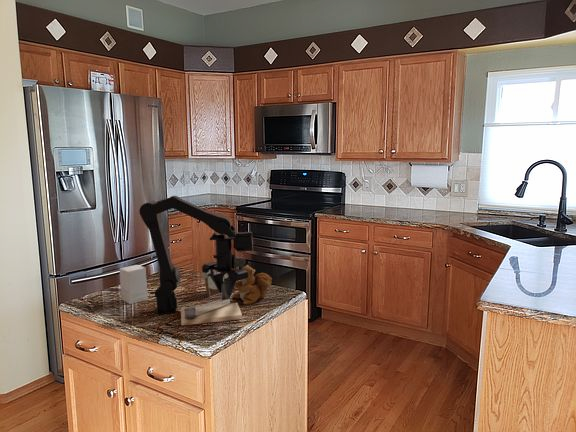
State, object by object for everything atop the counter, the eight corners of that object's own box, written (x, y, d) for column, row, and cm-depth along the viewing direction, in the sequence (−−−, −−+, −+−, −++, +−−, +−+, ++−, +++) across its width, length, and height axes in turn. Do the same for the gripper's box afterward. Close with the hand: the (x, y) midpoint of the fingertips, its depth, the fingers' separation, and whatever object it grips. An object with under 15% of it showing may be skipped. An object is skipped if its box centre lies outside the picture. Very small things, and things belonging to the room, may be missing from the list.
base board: (181, 325, 146) (181, 320, 146) (180, 312, 158) (180, 307, 157) (242, 319, 151) (242, 314, 151) (237, 306, 162) (237, 302, 162)
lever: (189, 319, 146) (187, 296, 145) (182, 317, 148) (181, 293, 147) (232, 304, 160) (231, 282, 159) (226, 301, 162) (225, 280, 161)
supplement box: (148, 299, 171) (146, 267, 169) (129, 304, 166) (127, 271, 164) (139, 295, 176) (137, 264, 174) (121, 299, 171) (118, 268, 169)
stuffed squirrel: (231, 297, 172) (229, 264, 170) (264, 292, 178) (264, 260, 176) (239, 306, 163) (238, 271, 161) (275, 299, 169) (274, 266, 167)
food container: (220, 287, 185) (219, 263, 183) (230, 290, 181) (229, 266, 179) (196, 295, 175) (195, 270, 174) (206, 298, 171) (205, 273, 170)
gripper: (258, 251, 157) (260, 293, 159) (223, 244, 169) (225, 283, 171) (235, 257, 149) (236, 302, 151) (200, 249, 161) (202, 291, 163)
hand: (225, 294), depth 159 cm, fingers open, 4 cm apart
